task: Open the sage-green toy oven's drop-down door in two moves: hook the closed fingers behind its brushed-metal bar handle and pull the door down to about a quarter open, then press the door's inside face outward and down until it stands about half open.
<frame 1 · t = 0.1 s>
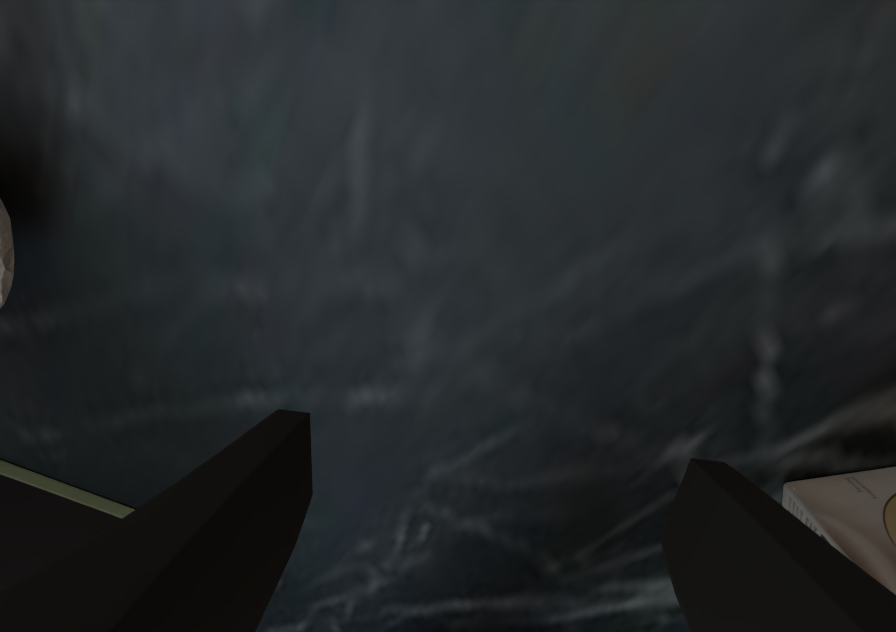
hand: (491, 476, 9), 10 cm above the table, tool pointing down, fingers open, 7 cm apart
oven: (102, 568, 26), on the table
coffee box: (878, 511, 21), on the table
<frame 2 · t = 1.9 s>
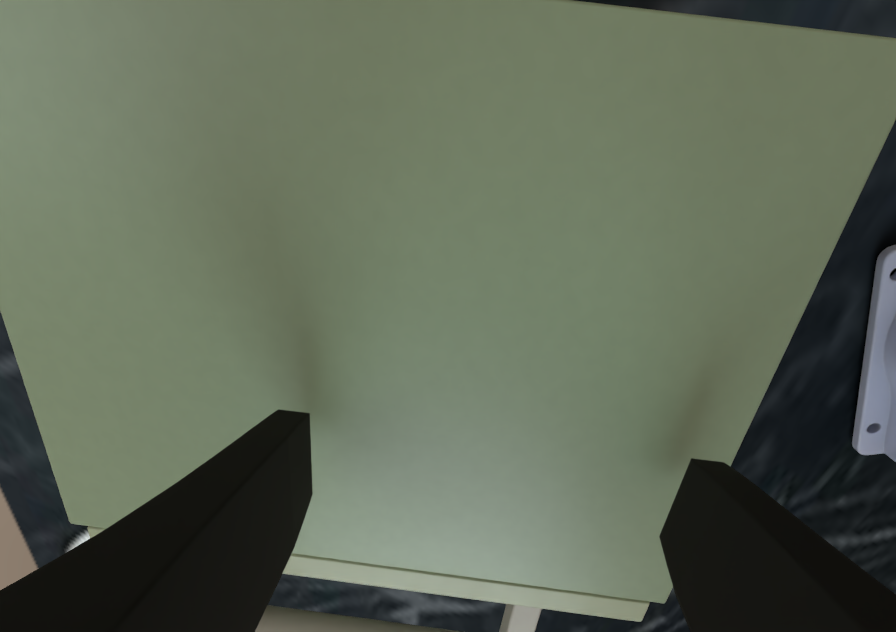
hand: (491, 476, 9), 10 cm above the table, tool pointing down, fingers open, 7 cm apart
oven: (427, 236, 17), on the table
oven door: (390, 507, 16), point 5 cm above the table, hinge at 0.0°
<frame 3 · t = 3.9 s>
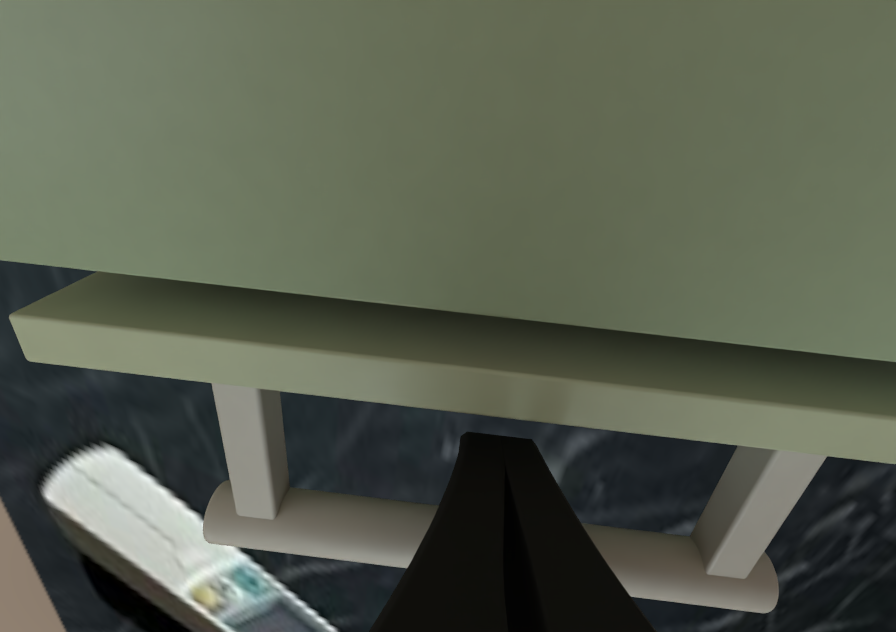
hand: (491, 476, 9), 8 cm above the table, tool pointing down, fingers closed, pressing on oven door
oven door: (495, 363, 11), point 5 cm above the table, hinge at 3.8°, touching gripper
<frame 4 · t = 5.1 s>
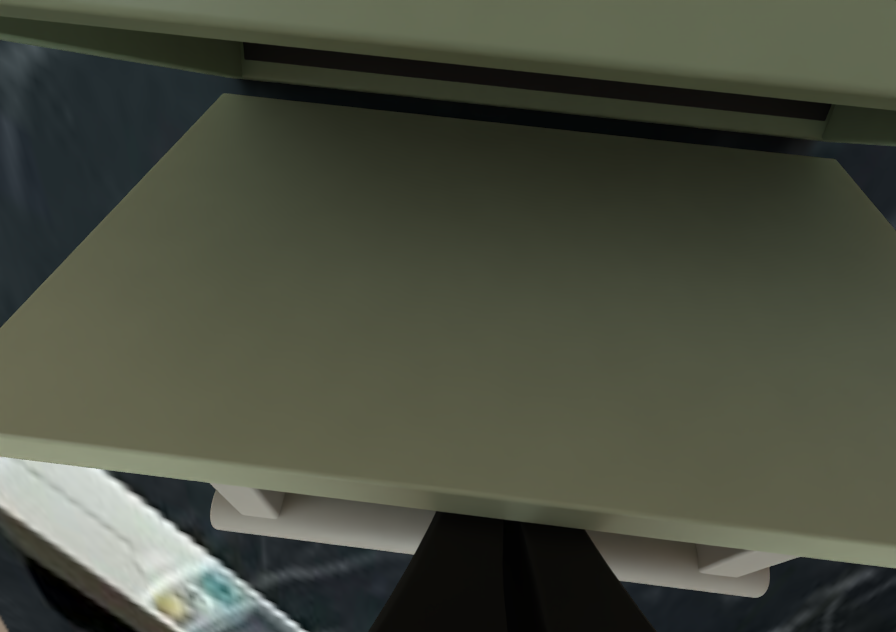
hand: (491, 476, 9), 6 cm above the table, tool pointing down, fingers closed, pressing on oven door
oven door: (504, 338, 10), point 3 cm above the table, hinge at 26.3°, touching gripper
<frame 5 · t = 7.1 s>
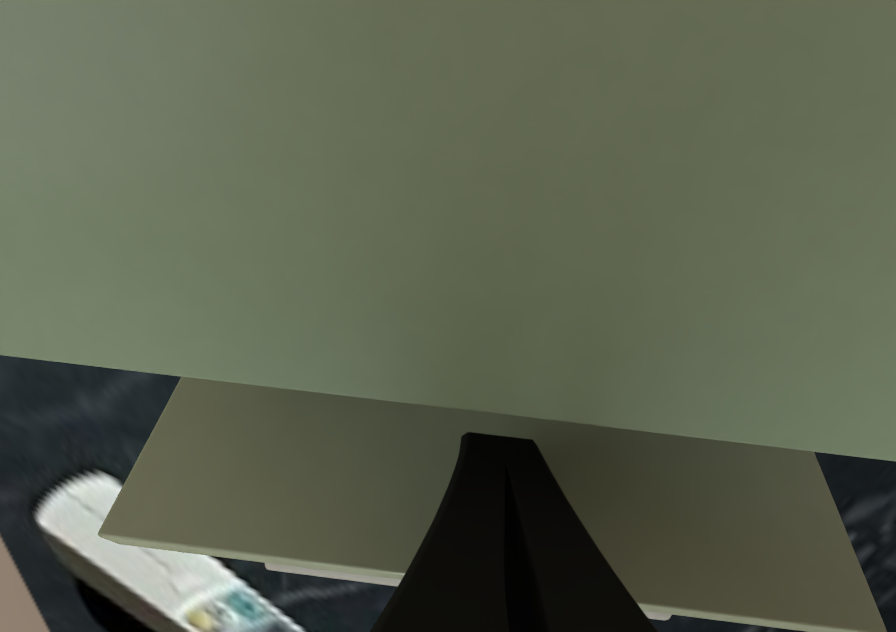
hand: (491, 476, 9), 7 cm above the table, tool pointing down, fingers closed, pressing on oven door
oven: (534, 6, 12), on the table
oven door: (482, 423, 13), point 3 cm above the table, hinge at 28.6°, touching gripper
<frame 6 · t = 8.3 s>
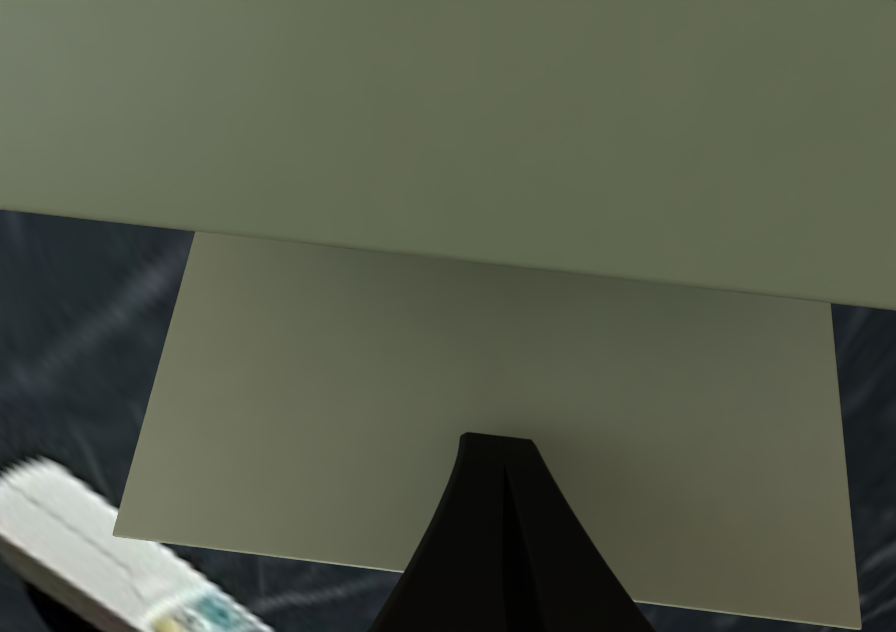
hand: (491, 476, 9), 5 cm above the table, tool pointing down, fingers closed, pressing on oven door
oven door: (488, 374, 12), point 1 cm above the table, hinge at 52.0°, touching gripper
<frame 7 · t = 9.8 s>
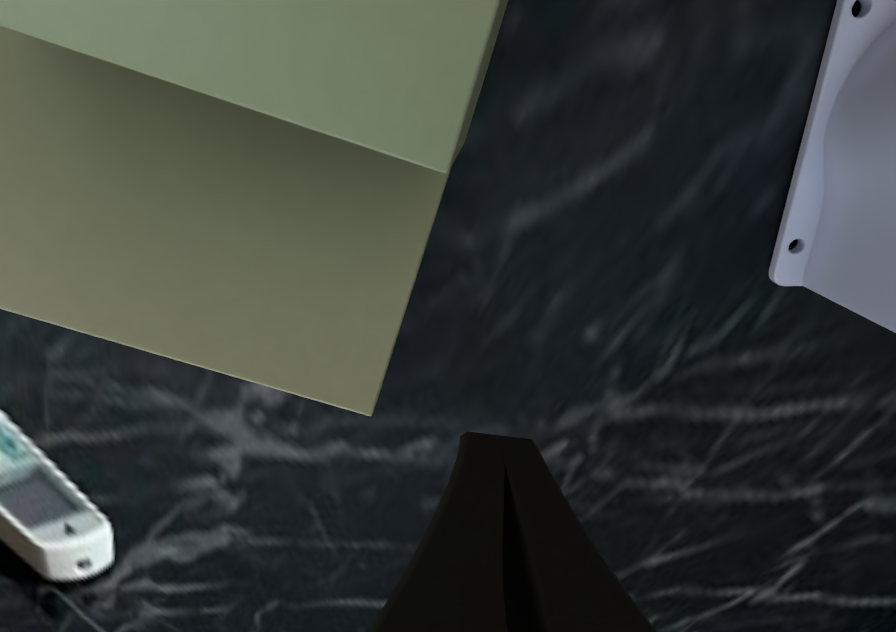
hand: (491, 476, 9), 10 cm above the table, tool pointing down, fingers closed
oven door: (213, 237, 16), point 1 cm above the table, hinge at 52.0°
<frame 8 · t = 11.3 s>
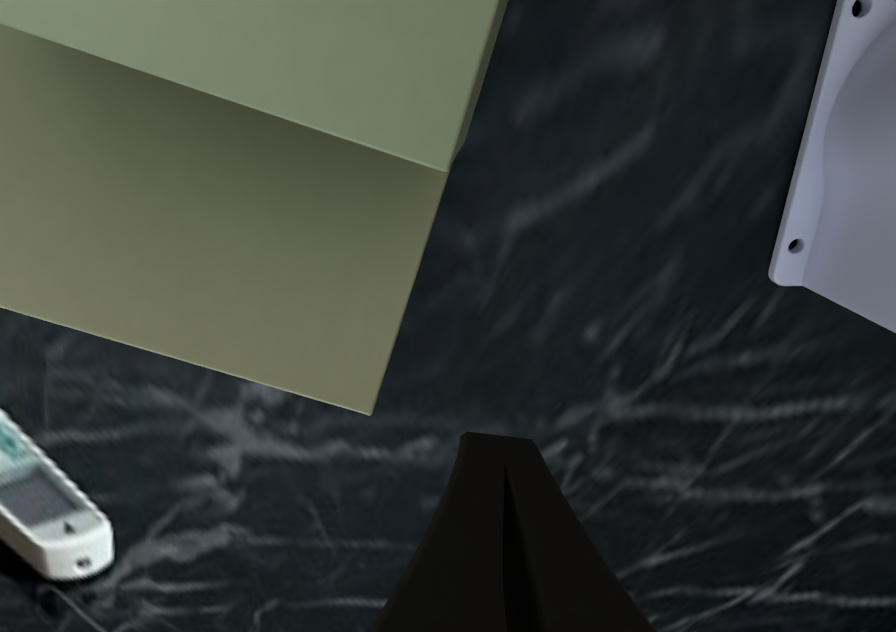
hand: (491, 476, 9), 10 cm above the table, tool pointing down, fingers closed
oven door: (213, 236, 16), point 1 cm above the table, hinge at 52.0°
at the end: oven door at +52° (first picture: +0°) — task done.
